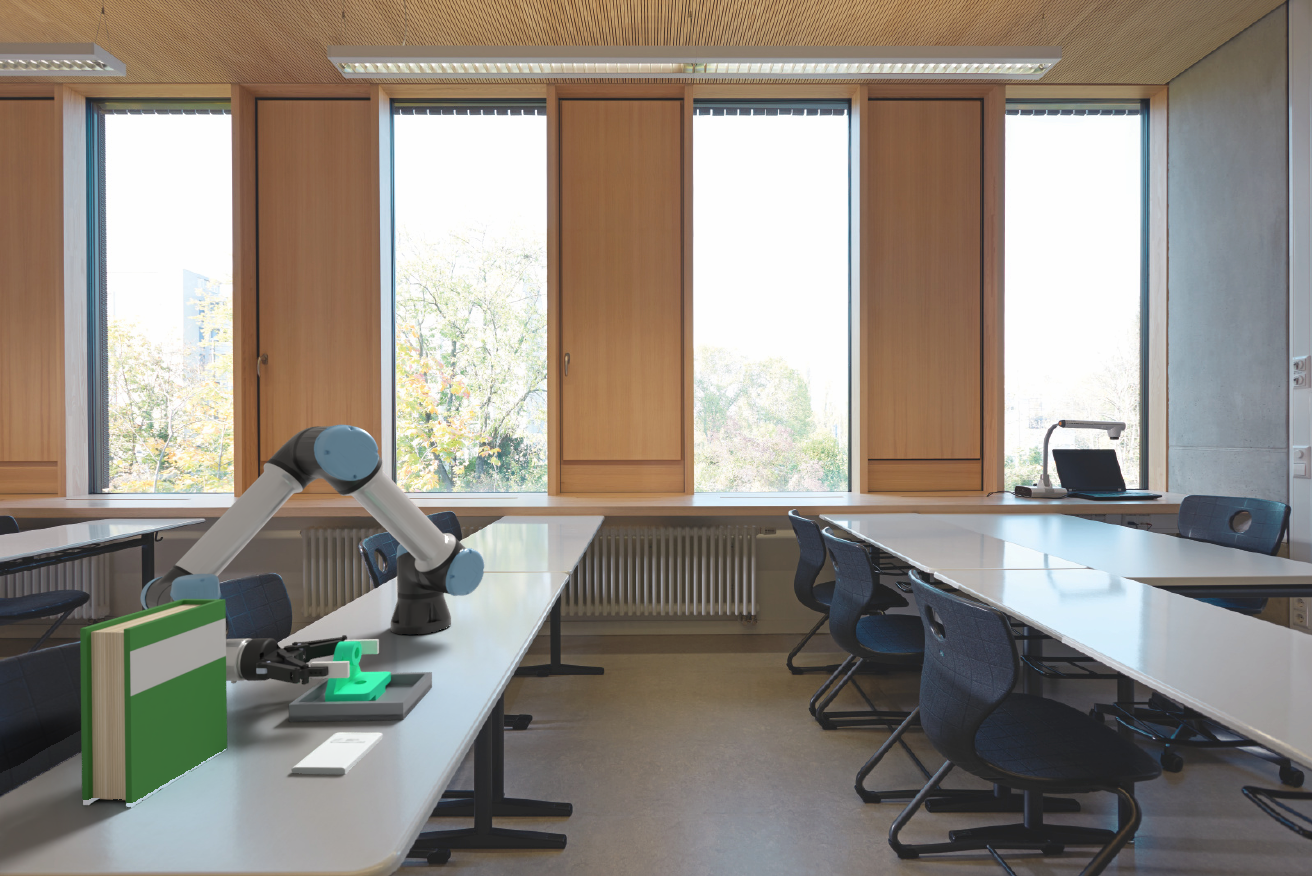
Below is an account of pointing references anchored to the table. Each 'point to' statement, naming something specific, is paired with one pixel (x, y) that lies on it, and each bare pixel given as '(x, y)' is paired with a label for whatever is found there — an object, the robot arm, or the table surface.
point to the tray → (389, 706)
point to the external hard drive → (338, 753)
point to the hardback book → (152, 697)
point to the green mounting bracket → (355, 677)
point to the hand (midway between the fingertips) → (364, 657)
